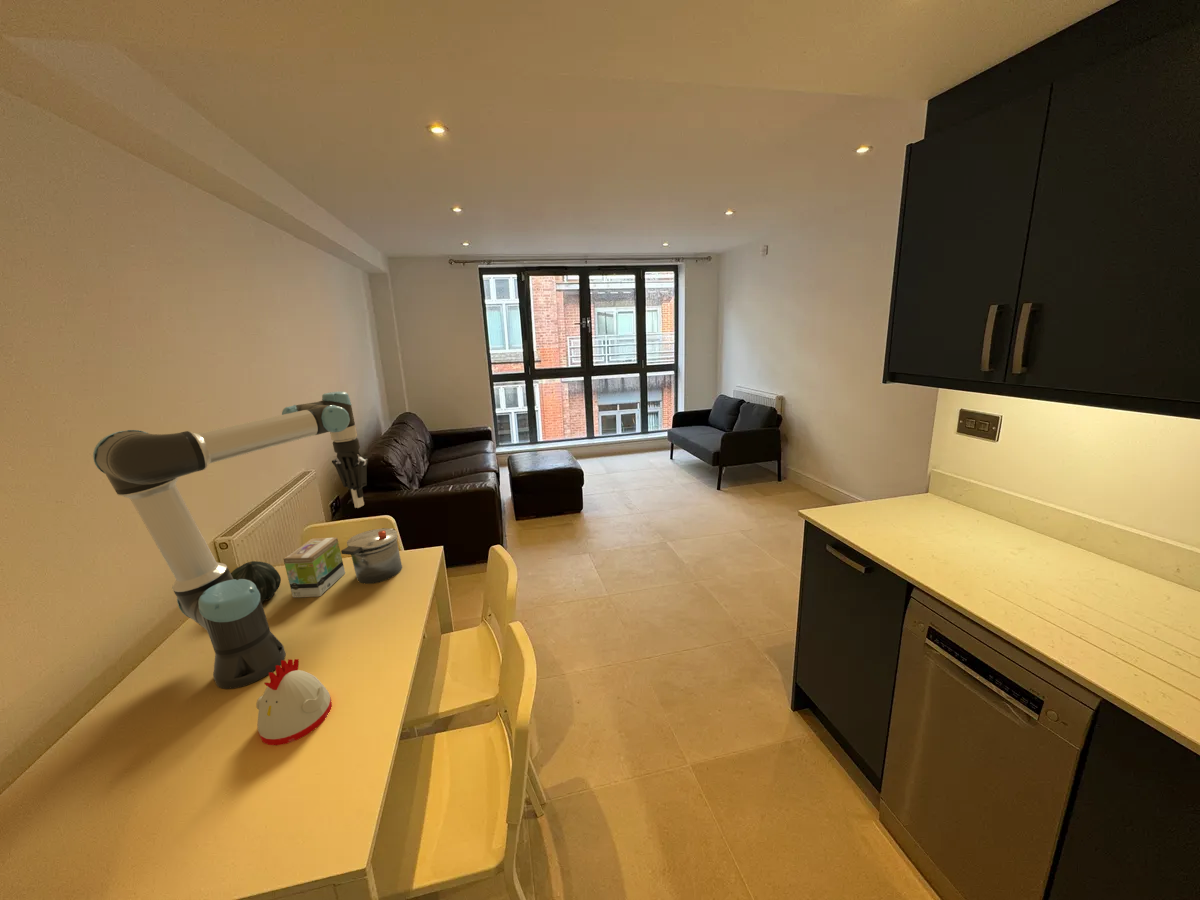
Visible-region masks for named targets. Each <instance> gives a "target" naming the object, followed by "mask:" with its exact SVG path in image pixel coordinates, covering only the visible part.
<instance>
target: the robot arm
mask: <svg viewBox="0 0 1200 900" xmlns="http://www.w3.org/2000/svg"><path fill="white" fill-rule="evenodd" d="M321 397H322V398H321V400H320V401H314V402H309V403H308V402H307V403H301V404H293V405H291V406H286V407H284V408H283V409H282V411H281V414H280V415H276V416H271V417H266V418H262V419H257V420H252V421H249V422H243V423H239V424H234V425H229V426H225V427H221V428H216V429H212V430H207V431H202V432H199V433H195V432H193V431H191V430H185V431H181V432H176V433H165V434H163V433H162V434H159V433H157V434H154V433H149V432H146V431H142V430H137V429H128V430H121V431H115V432H113V433H110V434H108V435H106V436H104V437H103V438H101V440H100V441H98V443H97V444H96V445H95V447H94V449H93V453H92V454H93V455H92V458H93V462H94V465H95V467H96V469H98V470H99V471H100V472H102V473H103V474H105V475H106V477H107V479H108V480H109V482H110V484H111V486H112V488H113V489H114V491H115V492H116V495H118V496H119V497H123V498H127V499H129V500H130V501H131V503H132V505H133V506H134V508H135V510H136V511H137V514H138V516H139V517H140V519H141V520H142V522H143V525H145V526H144V527H146V529H147V530H148V533H149V535H150V536H151V538H152V540H153V541H154V543H155V545H156V546H157V549H158V550H159V552H160V553H161V556H162V558H163V559H164V561H165V562H166V564H167V566H168V568H169V570H170V572H171V573H172V574H173V576H174V578H175V581H174V583H173V584H172V588H171V589H172V591H173V593H174V595H175V596H176V602H177V606H178V608H179V610H180V611H181V613H182V614H183V615H185V616H186V617H187V618H189V619H191V620H193V621H194V622H196V623H197V624H198V625H200V626H201V627H202V628H204V629H205V630H206V632H207V634H208V637H209V640H210V643H211V645H212V648H213V651H214V654H215V655H214V663H213V664H214V665H213V674H212V676H213V680H214V682H215V685H216V686H217V687H218V688H220V689H225V690H230V689H237V688H242V687H245V686H248V685H251V684H253V683H256V682H258V681H259V680H262V679H263V678H265V677H266V676H269V672H271V673H274V671H276V665H280V666H281V660H285V659H286V653H287V652H286V650H285V647H284V645H283V643H282V642H281V641H280V640H279V639H278V638H277V637H276V636H275V635H274V634H273V632H272V631H271V629H270V626H269V623H268V620H267V616H266V613H265V609H264V606H263V602H261V599H260V598H261V597H260V593H259V591H258V589H257V587H256V585H255V584H254V583H253V582H252V581H250V580H246V579H239V580H236V579H233V577H232V575H231V571H230V569H229V568H228V566H227V564H226V563H223V562H217V560H216V558H215V556H214V555H213V553H212V551H211V549H210V547H209V545H208V543H207V541H206V539H205V537H204V536H203V534H202V532H201V530H200V528H199V526H198V524H197V522H196V520H195V518H194V517H193V514H192V512H191V511H190V509H189V507H188V505H187V503H186V501H185V499H184V497H183V495H182V494H181V491H180V490H179V487H178V486H177V482H178V480H179V479H180V477H183V476H186V475H190V474H193V473H197V472H201V471H204V470H206V469H207V468H208V466H209V464H215V463H217V462H221V461H225V460H228V459H232V458H236V457H239V456H243V455H246V454H250V453H254V452H258V451H262V450H265V449H269V448H272V447H277V446H280V445H284V444H287V443H292V442H296V441H299V440H304V439H306V438H310V437H312V436H319V435H322V434H323V435H324V434H325V433H329V432H330V438H331V440H332V441H333V442H332V445H333V446H332V447H333V452H334V453H336V458H335V459H332V460H331V464H333V466H334V467H335V470H336V471H337V475H338V477H339V478H340V481H341V483H342V486H343V488H347V489H348V490H349V492H350V493H349V494H350V496H351V498H352V501H353V504H354V508H355V509H356V508H357V509H360V508H361V507H363V506H364V505H365V501H364V491H363V487H366V486H367V483H368V482H367V481H368V480H367V475H368V472H367V471H368V470H367V468H368V467H367V466H368V464H369V463H368V462H369V459H368V458H364V457H362V455H361V453H360V448H361V446H360V442H359V438H358V432H357V428H356V424H355V422H356V421H355V417H354V413H353V412H354V411H353V405H352V402H351V399H350V395H349V394H348V392H346V391H341V390H340V391H332V392H326V393H323V394H322V395H321Z"/></svg>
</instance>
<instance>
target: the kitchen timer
mask: <svg viewBox="0 0 1200 900" xmlns="http://www.w3.org/2000/svg"><path fill="white" fill-rule="evenodd" d="M299 661H300V659H299V658H294V660H293V659H291V658H288V659H287V661H286V660H285V659H284V660H281V664H280V665H276V669H275V672H269V674H268V677H269V680H270V681H269V682H264V685H265V686H266V688H265V690H264V692H263V694H262V695H261V696H259V697H258V699H257V701H256V709H257V710H258V711H257V713H258V715H257V731H258V732H257V733H258V735H259V738H260V739H261V741H262V743H263V744H266V745H268V746H279V745H286V744H289V743H292V742H295V741H297V740H299V739H301V738H303V737H305V736H307V735H309V734H311V731H312V732H313V731H314V730H316V729H317V728H318V727H320V725H321V724H322V723H324V721H325V720H326V719H327V718H328V716H329V715H328V713H329V712H331V711H330V710H332V708H331V707H333V703H332V702H333V701H332V698H331V697H332V696H331V694H330V692H329V690H328V689H327V688H326V686H325V685H324V684H323V683H322V682H321V681H320V679H318V678H317V677H316V676H315V675H314V674H312V673H310V672H307V671H305V670H302V669H299ZM331 701H332V702H331ZM329 714H330V713H329ZM327 715H328V716H327ZM325 718H326V719H325ZM315 728H316V729H315Z"/></svg>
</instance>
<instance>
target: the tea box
mask: <svg viewBox="0 0 1200 900" xmlns="http://www.w3.org/2000/svg"><path fill="white" fill-rule="evenodd" d="M283 563H284V567H285V572H286V575H287V580H288V584H289V587H290V592H291V595H292V598H311V597H312V598H314V597H322V595H323V594H324V593H325V592H326V591H327V590H328V589H330V588H331V587H332V586H333V585H334V584H336V582H337V581H338V580H339V579H341V578H342V577H343V576H344V575H345V574H346V571H345V567H344V561H343V557H342V553H341V549H340V544H339V539H338V537H322V538H321V537H320V538H319V537H318V538H311V539H309V540H308V541H306V542H305V543H303V544H302V545H300V546H299V547H298V548H296V549H295V550H293V551H292V552H291V553H289V554H288V555H286V556H285V557H283Z"/></svg>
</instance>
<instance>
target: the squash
mask: <svg viewBox="0 0 1200 900" xmlns="http://www.w3.org/2000/svg"><path fill="white" fill-rule="evenodd" d="M230 573H231V575H232V577H233V579H236V580H239V579H246V580H250V581H252V582H253V583H254V584H255V585H256V587H257V589H258V591H259V593H260V597H261V598H260V599H261V602H262V603H264V602H265V601H267V600H268V601H269V600H270V599H272V597H273V596H274V595H275V593H276V592H278V590H279V587H280V586H281V584H282V583H281V582H282V578H281V575H280V573H279V572H278V570H277V569H276V568H275V567H274V566H273V564H270V563H267V562H264V561H256V560H252V561H248V562H245V563H244V564H241V565H240V566H238V567H236V568H234V570H232V571H230Z"/></svg>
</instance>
